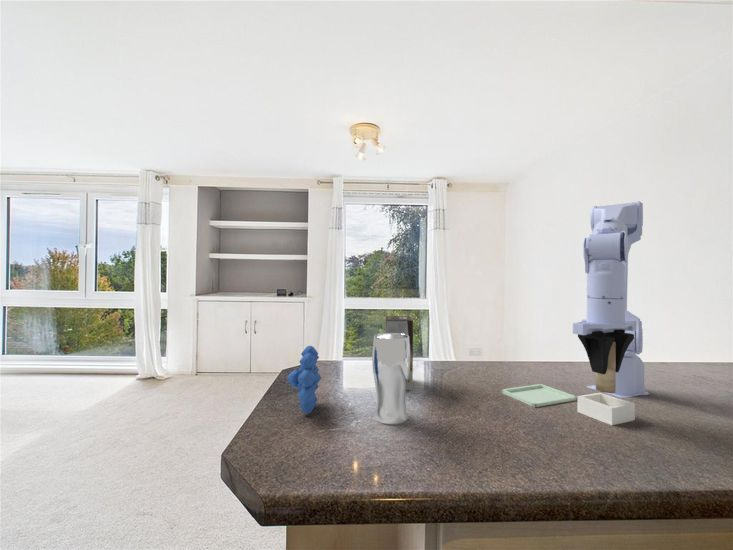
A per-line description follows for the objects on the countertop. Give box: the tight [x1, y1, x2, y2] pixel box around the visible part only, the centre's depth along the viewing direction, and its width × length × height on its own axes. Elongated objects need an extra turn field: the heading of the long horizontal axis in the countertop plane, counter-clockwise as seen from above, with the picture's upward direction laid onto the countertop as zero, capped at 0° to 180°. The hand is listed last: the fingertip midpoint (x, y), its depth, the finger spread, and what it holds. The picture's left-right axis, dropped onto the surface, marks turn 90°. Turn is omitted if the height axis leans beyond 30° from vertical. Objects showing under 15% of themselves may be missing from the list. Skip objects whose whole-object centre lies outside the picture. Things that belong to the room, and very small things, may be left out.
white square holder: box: [576, 392, 636, 426], centre depth 61 cm, size 6×6×4 cm
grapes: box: [286, 345, 322, 414], centre depth 64 cm, size 12×7×12 cm, turn 5°
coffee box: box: [384, 315, 414, 391], centre depth 80 cm, size 9×6×16 cm
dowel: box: [595, 342, 616, 394], centre depth 61 cm, size 3×3×9 cm
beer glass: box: [371, 332, 410, 426], centre depth 61 cm, size 7×7×15 cm
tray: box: [500, 383, 578, 408], centre depth 71 cm, size 12×9×1 cm
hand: (605, 371), depth 61 cm, fingers closed on dowel, 3 cm apart
